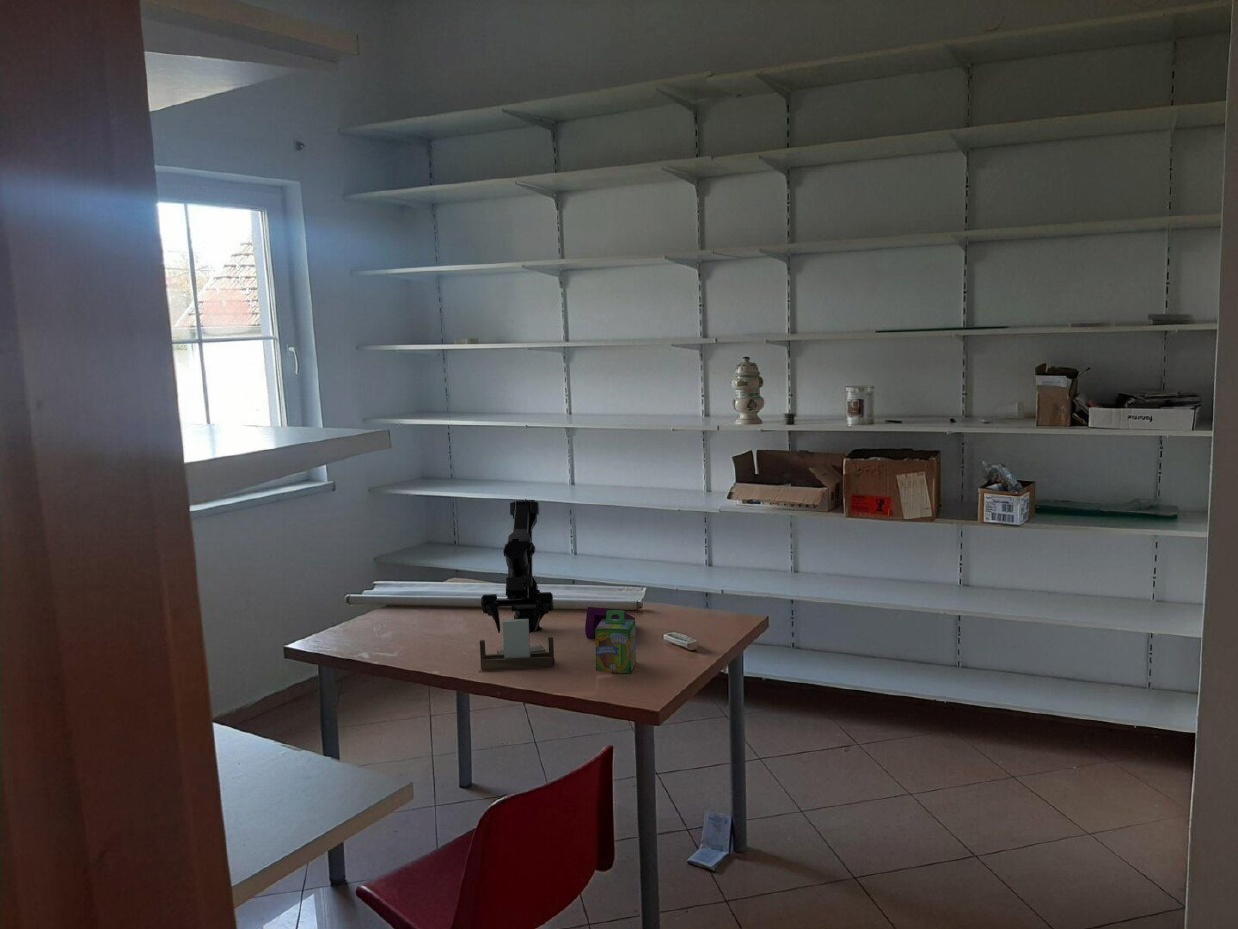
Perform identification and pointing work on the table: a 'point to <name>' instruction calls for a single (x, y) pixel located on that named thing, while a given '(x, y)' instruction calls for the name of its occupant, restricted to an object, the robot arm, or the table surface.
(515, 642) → the sage panel
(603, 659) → the chalk box
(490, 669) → the walnut rack
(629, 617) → the mounting bracket
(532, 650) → the upper offcut
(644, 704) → the table surface
